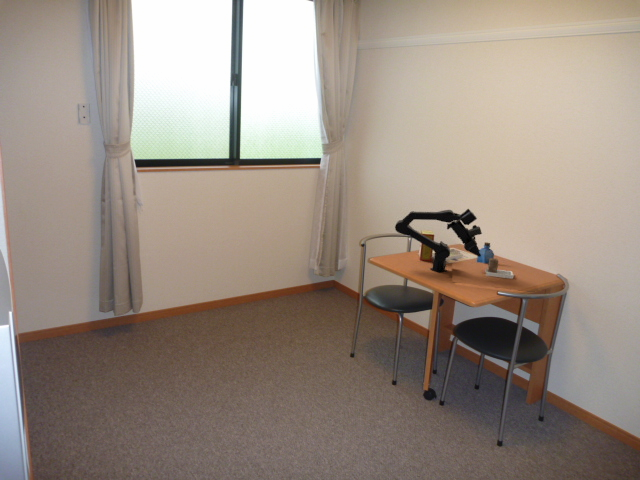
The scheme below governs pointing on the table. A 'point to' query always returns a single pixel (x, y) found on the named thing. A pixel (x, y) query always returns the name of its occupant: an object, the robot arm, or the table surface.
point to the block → (493, 265)
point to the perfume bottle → (485, 254)
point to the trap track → (500, 274)
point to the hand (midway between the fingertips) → (479, 253)
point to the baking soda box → (426, 247)
